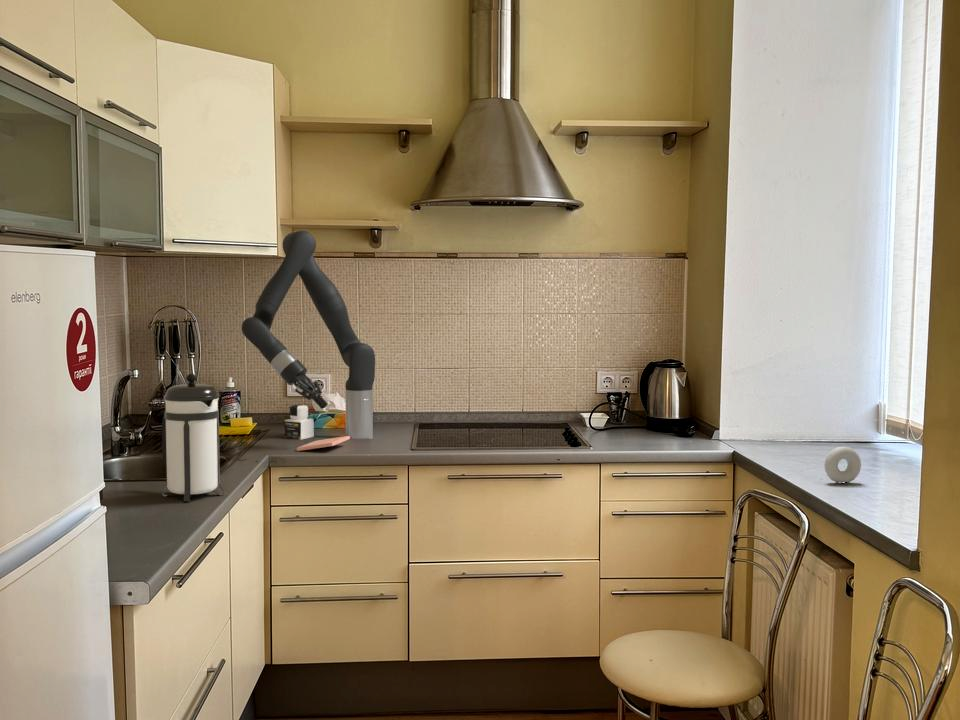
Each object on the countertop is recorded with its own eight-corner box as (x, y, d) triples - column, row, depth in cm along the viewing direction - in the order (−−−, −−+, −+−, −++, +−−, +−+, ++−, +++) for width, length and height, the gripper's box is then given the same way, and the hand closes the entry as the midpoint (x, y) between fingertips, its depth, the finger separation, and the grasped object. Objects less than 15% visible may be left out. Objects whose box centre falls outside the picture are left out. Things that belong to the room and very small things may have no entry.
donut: (855, 481, 232) (857, 445, 231) (863, 484, 229) (864, 447, 228) (821, 482, 231) (822, 445, 230) (828, 485, 227) (829, 447, 226)
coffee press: (232, 487, 219) (231, 370, 217) (215, 502, 203) (213, 376, 201) (164, 488, 219) (161, 370, 216) (141, 502, 203) (138, 376, 200)
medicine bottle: (284, 440, 291) (283, 405, 291) (297, 437, 298) (297, 403, 297) (300, 442, 288) (300, 407, 287) (314, 439, 294) (314, 404, 294)
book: (315, 440, 279) (349, 435, 276) (316, 444, 279) (350, 439, 277) (296, 447, 266) (331, 442, 263) (297, 451, 266) (332, 446, 263)
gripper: (286, 360, 265) (324, 401, 263) (305, 357, 278) (341, 396, 276) (271, 377, 267) (308, 417, 265) (290, 373, 279) (326, 412, 277)
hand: (325, 406), depth 270 cm, fingers closed
